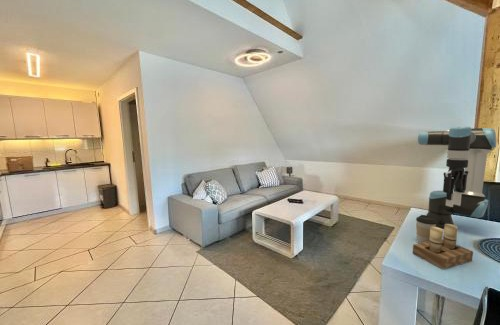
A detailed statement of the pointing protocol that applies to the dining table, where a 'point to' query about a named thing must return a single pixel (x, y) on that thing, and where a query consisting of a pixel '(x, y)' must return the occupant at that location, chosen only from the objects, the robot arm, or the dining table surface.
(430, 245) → the peg
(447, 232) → the peg
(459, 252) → the board
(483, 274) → the dining table surface
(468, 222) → the dining table surface
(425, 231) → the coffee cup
